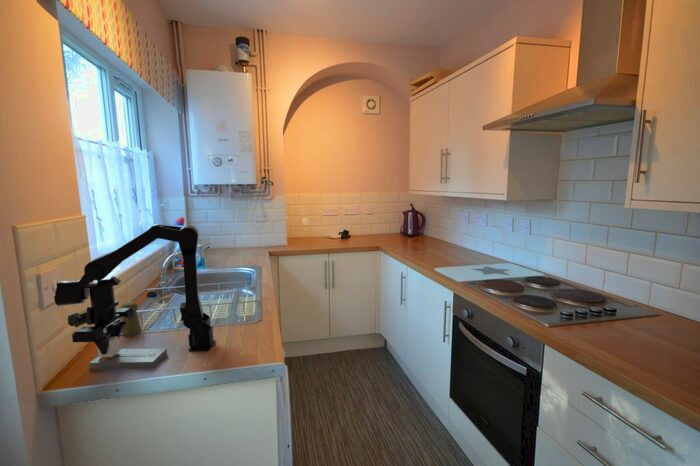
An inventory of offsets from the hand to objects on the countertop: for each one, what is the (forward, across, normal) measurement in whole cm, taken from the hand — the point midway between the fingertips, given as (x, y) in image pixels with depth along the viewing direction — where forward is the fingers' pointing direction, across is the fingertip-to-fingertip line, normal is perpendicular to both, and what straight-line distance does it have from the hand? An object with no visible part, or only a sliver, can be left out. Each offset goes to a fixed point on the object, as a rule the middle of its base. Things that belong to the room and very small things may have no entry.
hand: (108, 350), depth 104 cm
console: (+4, 0, +6) cm, 7 cm away
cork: (+4, -21, -6) cm, 22 cm away
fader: (+1, 0, 0) cm, 1 cm away
